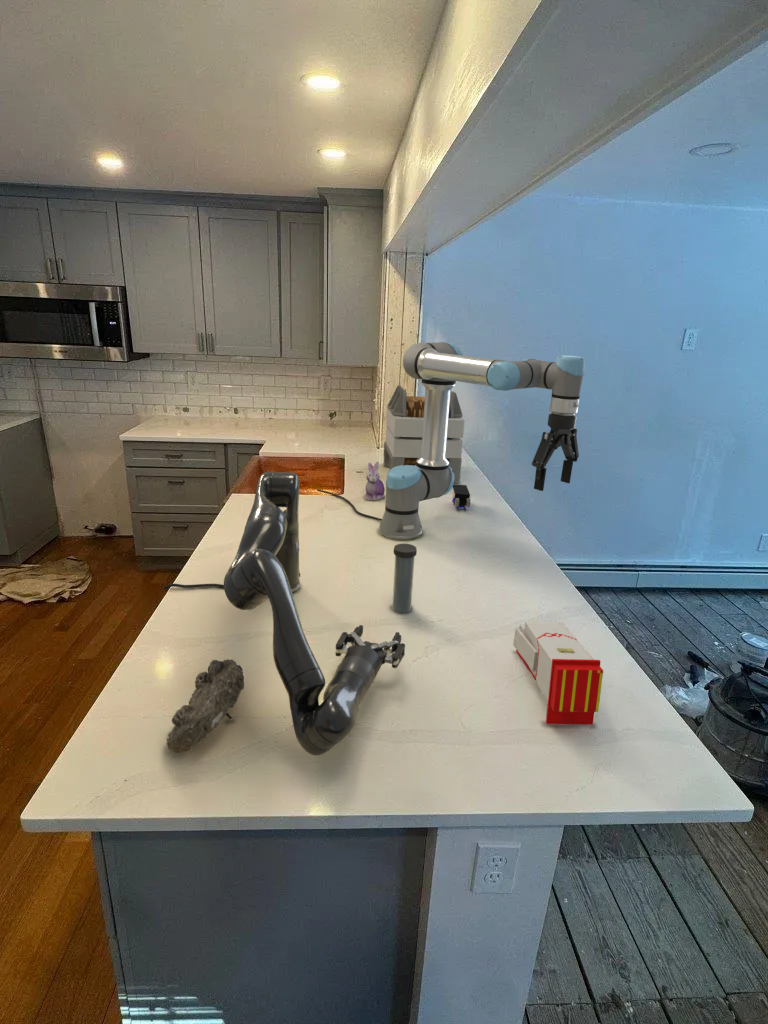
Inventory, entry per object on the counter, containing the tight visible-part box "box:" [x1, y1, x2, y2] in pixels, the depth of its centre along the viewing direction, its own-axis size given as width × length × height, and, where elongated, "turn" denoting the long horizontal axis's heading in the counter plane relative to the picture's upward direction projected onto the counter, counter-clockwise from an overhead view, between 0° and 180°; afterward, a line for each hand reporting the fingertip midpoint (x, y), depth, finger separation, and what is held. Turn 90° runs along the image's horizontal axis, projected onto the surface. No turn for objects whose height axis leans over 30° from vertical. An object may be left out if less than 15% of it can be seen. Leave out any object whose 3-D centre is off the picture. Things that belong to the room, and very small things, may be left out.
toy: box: [512, 621, 604, 726], centre depth 121 cm, size 12×13×30 cm
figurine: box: [364, 461, 386, 501], centre depth 234 cm, size 9×10×15 cm
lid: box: [393, 543, 418, 558], centre depth 145 cm, size 6×6×2 cm
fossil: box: [166, 658, 245, 754], centre depth 106 cm, size 22×10×15 cm
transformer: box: [383, 384, 465, 484], centre depth 268 cm, size 34×33×41 cm
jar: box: [391, 555, 416, 614], centre depth 147 cm, size 5×5×17 cm
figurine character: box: [451, 483, 471, 512], centre depth 229 cm, size 7×8×15 cm
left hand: (379, 632), depth 128 cm, fingers open, 8 cm apart
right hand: (552, 485), depth 166 cm, fingers open, 13 cm apart
